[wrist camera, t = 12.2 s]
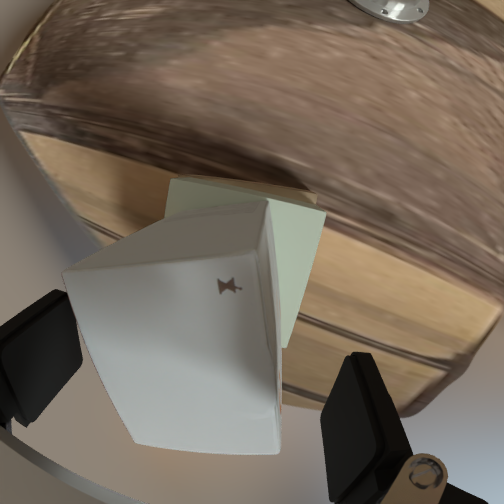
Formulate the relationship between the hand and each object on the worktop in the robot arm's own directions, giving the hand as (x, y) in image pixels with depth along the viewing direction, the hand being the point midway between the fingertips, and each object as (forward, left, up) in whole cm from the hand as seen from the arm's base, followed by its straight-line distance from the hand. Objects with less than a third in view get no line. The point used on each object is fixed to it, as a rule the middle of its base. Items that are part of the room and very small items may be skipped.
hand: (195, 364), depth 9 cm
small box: (0, -1, -13) cm, 13 cm away
